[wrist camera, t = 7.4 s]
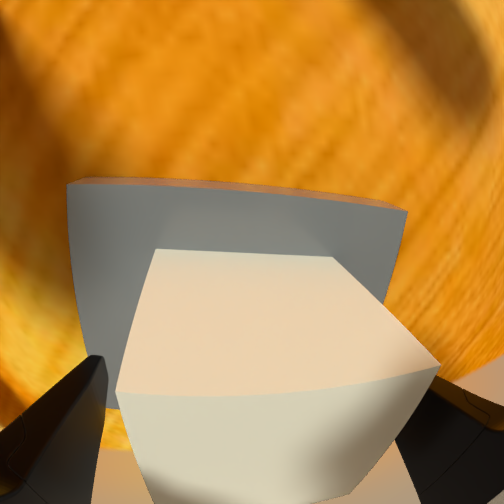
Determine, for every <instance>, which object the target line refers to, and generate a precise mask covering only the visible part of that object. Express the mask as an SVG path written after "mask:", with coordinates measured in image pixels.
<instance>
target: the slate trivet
mask: <svg viewBox="0 0 504 504" xmlns="http://www.w3.org/2000/svg"><path fill="white" fill-rule="evenodd" d="M407 213H408V211H406V210H403V209H401V208H399V207H396V206H394V205H391V204H389V203H387V202H384V201H380V200H373V199H367V198H361V197H354V196H347V195H340V194H333V193H326V192H318V191H310V190H302V189H293V188H284V187H275V186H265V185H254V184H243V183H231V182H218V181H203V180H187V179H166V178H138V177H84V178H81V179H79V180H76V181H74V182H71V183H69V184H67V219H68V235H69V248H70V258H71V267H72V275H73V282H74V289H75V296H76V302H77V308H78V313H79V318H80V324H81V328H82V333H83V338H84V342H85V347H86V351H87V355H88V356H89V355H92V354H93V355H101V356H103V357H104V359H105V363H106V367H107V372H108V377H109V383H108V391H107V400H106V408H111V409H120V408H119V404H118V400H117V396H116V393H115V390H116V386H117V381H118V377H119V373H120V368H121V364H122V360H123V356H124V352H125V348H126V345H127V341H128V337H129V333H130V330H131V326H132V323H133V319H134V316H135V312H136V309H137V305H138V302H139V299H140V295H141V292H142V289H143V286H144V283H145V279H146V276H147V273H148V270H149V267H150V264H151V261H152V258H153V255H154V252H155V249H172V250H194V251H215V252H236V253H257V254H279V255H301V256H322V257H333V258H334V259H335V260H336V261H337V262H338V263H339V264H341V265H342V266H343V267H344V268H345V269H346V270H347V271H348V272H349V273H350V274H351V275H352V276H353V277H354V278H355V279H356V280H357V281H359V282H360V283H361V284H362V285H363V286H364V287H365V288H366V289H367V290H368V291H369V292H370V293H371V294H372V295H373V296H374V297H375V298H376V299H377V300H378V301H379V302H380V303H381V304H382V305H383V302H384V299H385V296H386V293H387V289H388V286H389V283H390V280H391V276H392V273H393V269H394V266H395V262H396V258H397V255H398V251H399V247H400V243H401V239H402V235H403V231H404V227H405V222H406V218H407Z"/></svg>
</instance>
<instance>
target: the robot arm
mask: <svg viewBox="0 0 504 504" xmlns="http://www.w3.org/2000/svg"><path fill="white" fill-rule="evenodd" d="M108 383H109V377H108V372H107V367H106V363H105V359H104V357H103V356H101V355H93V354H92V355H89V356H88V357H87V358H86V359H85V360H83V361H82V362H81V363H80V364H79V365H78V366H76V367H75V368H74V369H73V370H72V371H70V372H69V373H68V374H67V375H66V376H65V377H63V378H62V379H61V380H60V381H59V382H58V383H56V384H55V385H54V386H53V387H52V388H51V389H49V390H48V391H47V392H46V393H45V394H44V395H42V396H41V397H40V398H39V399H38V400H37V401H36V402H34V403H33V404H32V405H31V406H30V407H29V408H28V409H26V410H25V411H24V412H23V413H22V415H19V416H18V417H17V418H16V419H15V420H14V421H13V422H11V423H10V424H9V425H8V426H7V427H6V428H4V429H3V430H2V431H1V432H0V504H91V498H92V490H93V483H94V477H95V470H96V464H97V458H98V453H99V448H100V442H101V437H102V432H103V427H104V421H105V410H106V400H107V391H108ZM395 442H396V444H397V446H398V449H399V451H400V453H401V456H402V458H403V460H404V463H405V465H406V468H407V470H408V472H409V475H410V477H411V479H412V482H413V484H414V487H415V489H416V492H417V494H418V497H419V500H420V502H421V504H504V406H501V405H499V404H496V403H493V402H491V401H489V400H486V399H484V398H481V397H479V396H477V395H475V394H473V393H471V392H469V391H466V390H465V389H462V388H460V387H458V386H457V385H455V384H453V383H451V382H449V381H447V380H445V379H443V378H441V377H439V376H437V375H435V377H434V379H433V381H432V382H431V384H430V386H429V388H428V389H427V391H426V393H425V394H424V396H423V398H422V399H421V401H420V403H419V404H418V406H417V407H416V409H415V410H414V412H413V414H412V415H411V417H410V418H409V420H408V421H407V423H406V424H405V425H404V427H403V428H402V430H401V431H400V433H399V434H398V435H397V437H396V438H395Z"/></svg>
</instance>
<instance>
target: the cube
mask: <svg viewBox="0 0 504 504" xmlns="http://www.w3.org/2000/svg"><path fill="white" fill-rule="evenodd" d="M440 366H441V364H440V363H439V362H438V361H437V360H436V359H435V358H434V357H433V356H432V355H431V354H430V353H429V351H428V350H427V349H426V348H425V347H424V346H423V345H422V344H421V343H420V342H419V341H418V340H417V339H416V338H415V337H414V336H413V335H412V334H411V333H410V332H409V331H408V330H407V329H406V328H405V327H404V326H403V325H402V324H401V323H400V322H399V321H398V320H397V319H396V318H395V317H394V316H393V315H392V314H391V313H390V312H389V311H388V310H387V309H386V308H385V307H384V306H383V305H382V304H381V303H380V302H379V301H378V300H377V299H376V298H375V297H374V296H373V295H372V294H371V293H370V292H369V291H368V290H367V289H366V288H365V287H364V286H363V285H362V284H361V283H360V282H359V281H357V280H356V279H355V278H354V277H353V276H352V275H351V274H350V273H349V272H348V271H347V270H346V269H345V268H344V267H343V266H342V265H341V264H339V263H338V262H337V261H336V260H335V259H334V258H333V257H322V256H301V255H279V254H257V253H236V252H215V251H194V250H172V249H155V252H154V255H153V258H152V261H151V264H150V267H149V270H148V273H147V276H146V279H145V283H144V286H143V289H142V292H141V295H140V299H139V302H138V305H137V309H136V312H135V316H134V319H133V323H132V326H131V330H130V333H129V337H128V341H127V345H126V348H125V352H124V356H123V360H122V364H121V368H120V373H119V377H118V381H117V386H116V390H115V393H116V396H117V400H118V404H119V408H120V411H121V415H122V418H123V421H124V425H125V428H126V431H127V434H128V437H129V440H130V443H131V446H132V449H133V452H134V455H135V458H136V460H137V463H138V466H139V468H140V471H141V473H142V476H143V479H144V481H145V483H146V486H147V488H148V491H149V493H150V495H151V498H152V500H153V502H154V504H312V503H317V502H321V501H325V500H329V499H332V498H336V497H340V496H344V495H347V494H350V493H351V492H352V490H353V489H354V488H355V487H356V486H357V485H358V484H359V483H360V482H361V481H362V479H363V478H364V477H365V476H366V475H367V474H368V472H369V471H370V470H371V469H372V468H373V466H374V465H375V464H376V463H377V462H378V460H379V459H380V458H381V457H382V455H383V454H384V453H385V451H386V450H387V449H388V447H389V446H390V445H391V444H392V442H393V441H394V440H395V438H396V437H397V435H398V434H399V433H400V431H401V430H402V428H403V427H404V425H405V424H406V423H407V421H408V420H409V418H410V417H411V415H412V414H413V412H414V410H415V409H416V407H417V406H418V404H419V403H420V401H421V399H422V398H423V396H424V394H425V393H426V391H427V389H428V388H429V386H430V384H431V382H432V381H433V379H434V377H435V375H436V374H437V372H438V370H439V368H440Z"/></svg>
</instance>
